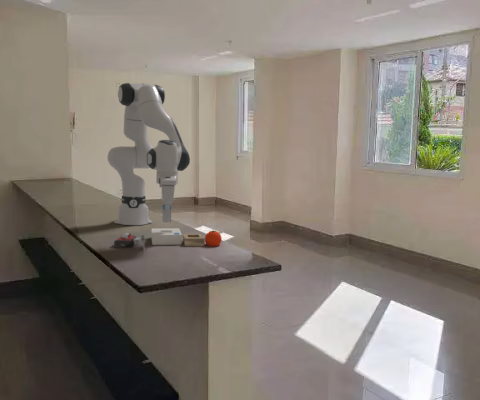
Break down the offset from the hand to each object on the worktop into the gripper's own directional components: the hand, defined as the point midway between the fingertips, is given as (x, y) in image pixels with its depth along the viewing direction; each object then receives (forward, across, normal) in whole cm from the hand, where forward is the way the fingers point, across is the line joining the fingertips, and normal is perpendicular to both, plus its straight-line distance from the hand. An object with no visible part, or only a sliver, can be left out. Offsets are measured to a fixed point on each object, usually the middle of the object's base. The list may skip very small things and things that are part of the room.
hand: (166, 212), depth 207 cm
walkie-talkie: (+14, -2, -15) cm, 21 cm away
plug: (+4, 0, 0) cm, 4 cm away
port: (+13, 0, 0) cm, 13 cm away
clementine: (+14, +8, +19) cm, 25 cm away
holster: (+14, +5, +11) cm, 18 cm away
